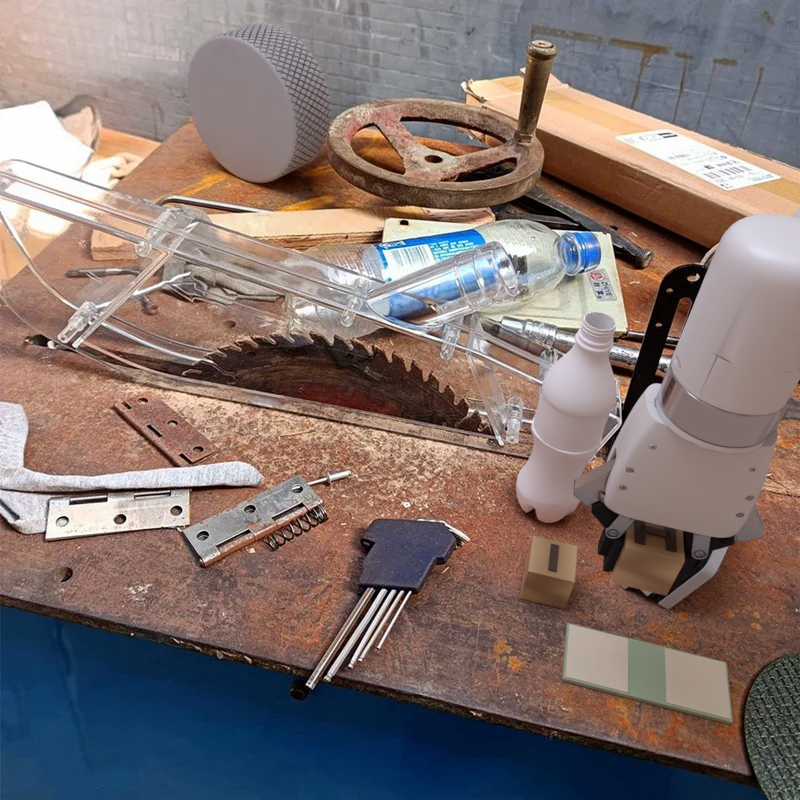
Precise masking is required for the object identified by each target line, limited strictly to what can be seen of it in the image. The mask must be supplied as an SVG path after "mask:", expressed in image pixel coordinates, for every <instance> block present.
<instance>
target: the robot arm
mask: <svg viewBox="0 0 800 800" xmlns="http://www.w3.org/2000/svg"><path fill="white" fill-rule="evenodd" d="M799 382H800V207H799V208H798V209H796V211H795V213H794V214H793V215H786V214H780V213H779V214H777V213H757V214H752V215H749V216H745V217H743V218H741V219H738V220H736V221H735V222H733V223H732V224H731V225H730V226H729V227H728V229H727V230H725V232H724V233H723V235H722V236H721V238H720V240H719V242H718V244H717V247H716V249H715V251H714V253H713V255H712V258H711V261H710V263H709V265H708V268H707V271H706V273H705V275H704V278H703V280H702V283H701V285H700V288H699V291H698V293H697V295H696V298H695V300H694V303H693V305H692V308H691V310H690V313H689V316H688V317H687V320H686V322H685V325H684V327H683V330H682V332H681V335H680V337H679V340H678V342H677V345H676V347H675V349H674V352H673V354H672V356H671V359H670V362H669V364H668V367H667V369H666V372H665V374H664V376H663V378H662V382H661V383H657V382H656V383H655V382H654V383H652V384H650V385H648V387H646V389H645V390H644V391H643V393H641V395H640V397H639V398H638V399H637V401H636V402H635V404H634V406H633V407H632V408H631V411H630V412H629V413H628V415H627V417H626V419H625V420H624V423H623V424H622V426H621V428H620V431H619V432H618V434H617V436H616V437H615V438H616V439H615V440H614V442H613V445H612V447H611V449H610V451H609V453H608V456H607V459H606V461H605V462H604V463H602V464H600V465H599V466H597V467H595V468H593V469H591V470H590V471H587V472H586V473H583V474H582V476H580V477H578V478H576V479H575V480H574V485H573V494H574V496H575V497H576V498H578V499H579V500H580V503H582V504H583V505H584V506H586V507H588V508H589V509H590V510H591V514H592V515H593V516H594V517H595V518H596V520H597V521H598V522H599V523H600V524H601V526H602V527H603V528H602V532H601V533H600V537H599V539H598V544H597V550H596V551H597V555H598V556H603V561H602V571H603V572H605V573H608V574H611V572H612V571H613V568H614V566H615V564H616V562H617V559H618V557H619V555H620V553H621V550H622V548H623V546H624V532H625V531H626V530H627V529H628V527H629V526H630V525H631V524H632V523H633V522H634V521H635V520H636V519H637V520H641V521H645V522H649V523H653V524H657V525H661V526H666V527H670V528H674V529H678V530H683V539H684V555H685V562H684V564H683V566H682V568H681V570H680V571H679V573H678V575H677V577H676V579H675V581H674V583H673V584H672V586H671V588H673V589H677V587H678V585H679V583H680V581H681V579H682V578H683V576H689V574H690V573H691V571H692V569H693V567H694V565H695V564H696V562H697V560H698V559H705V558H706V557H707V556H708V552H710V551H714V550H717V549H721V548H725V547H728V548H729V547H732V546H733V545H734V544H735V543H736V542H738V543H744V542H749V541H754V540H755V541H756V540H760V539H763V538H764V537H765V530H764V523H763V519H762V517H761V515H760V513H759V511H758V508H757V506H756V503H757V502H758V498H759V497H760V494H761V493H762V489H763V487H764V485H765V482H766V478H767V475H768V473H769V470H770V466H771V463H772V460H773V458H774V454H775V450H776V446H777V440H778V426H779V425H780V423H781V422H782V421H784V420H785V421H789V420H794V421H797V422H799V421H800V399H795V397H794V396H792V394H793V392H794V391H795V389H796V388H797V385H798V383H799ZM603 490H605V491H603Z"/></svg>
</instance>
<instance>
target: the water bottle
mask: <svg viewBox="0 0 800 800" xmlns="http://www.w3.org/2000/svg"><path fill="white" fill-rule="evenodd" d="M581 321H582V322H581V326H580V327H579V328H578V330H577V332H576V333H575V335H574V342H575V343H574V344H573V346H572V347H571V348H570V349H569V350H567V352H566V353H565V354H563V355H562V356H561V357H560V358H559V359H558V360H557V361H556V362H554V364H552V365H551V367H550V368H549V369H548V370H547V372H546V374H545V375H544V377H543V380H542V383H541V392H540V395H539V399H538V403H537V407H536V411H535V413H534V416H533V418H532V420H531V425H530V431H531V434H532V435H531V436H532V440H533V445H532V450H531V453H530V456H529V458H528V460H527V461H526V463H525V464H524V465H523V466H522V467H521V469H520V470H519V472H518V475H517V478H516V484H515V493H516V494H515V495H516V498H517V502H518V504H519V506H520V508H521V510H522V511H523V512H525V514H526V513H527V514H528V513H529V512H531V511H533V510H535V515H536V518H537V520H538V521H540V522H542V523H546V524H547V523H548V524H552V523H555V522H558V521H560V520H562V519H563V518H564V517H565V516H566V517H567V516H569V515H570V514H573V512H575V510H576V509H577V508H578V506H579V504H580V503H581V501H580V500H579V499H578V498H576V497H575V496H574V494H573V485H574V480H575V479H576V478H578V477H580V476H582V475H583V474H584V471H585V470H586V469H585V468H586V467H587V465H588V464H589V462H590V461H591V460H592V459H593V458H594V456H595V455H596V454H597V453H598V451H599V449H600V448H601V443H602V441H603V433H604V430H605V428H606V425H607V422H608V419H609V416H610V413H611V412H612V411H611V410H613V408H614V406H615V404H616V399H617V382H616V379H615V374H614V371H613V368H612V365H611V362H610V351H612V349H613V348H614V343H615V342H614V341H615V340H614V339H615V338H614V335H615V332H616V329H617V321H616V319H615V318H614V317H612V316H611V315H609V314H608V313H605V312H601V311H589V312H587V313H586V314H585V315H584V316H583V318H582V320H581Z"/></svg>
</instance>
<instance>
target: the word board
mask: <svg viewBox="0 0 800 800" xmlns="http://www.w3.org/2000/svg"><path fill="white" fill-rule="evenodd" d="M561 682H564V683H567V684H572V685H576V686H580V687H583V688H587V689H591V690H595V691H599V692H602V693H607V694H610V695H614V696H618V697H622V698H626V699H630V700H634V701H638V702H642V703H644V704H645V703H646V704H650V705H653V706H656V707H657V706H658V707H661V708H664V709H668V710H673V711H676V712H680V713H683V714H687V715H691V716H695V717H699V718H703V719H707V720H711V721H715V722H720V723H723V724H726V725H733V723H734V718H733V710H732V709H733V708H732V701H731V700H732V699H731V690H730V689H731V688H730V681H729V671H728V662H727V661H723V660H719V659H715V658H712V657H708V656H703V655H700V654H695V653H691V652H687V651H684V650H679V649H674V648H671V647H667V646H663V645H659V644H654V643H650V642H646V641H643V640H639V639H634V638H630V637H627V636H623V635H618V634H614V633H610V632H607V631H602V630H598V629H594V628H590V627H587V626H582V625H578V624H574V623H571V622H566V625H565V636H564V648H563V661H562V673H561Z"/></svg>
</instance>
